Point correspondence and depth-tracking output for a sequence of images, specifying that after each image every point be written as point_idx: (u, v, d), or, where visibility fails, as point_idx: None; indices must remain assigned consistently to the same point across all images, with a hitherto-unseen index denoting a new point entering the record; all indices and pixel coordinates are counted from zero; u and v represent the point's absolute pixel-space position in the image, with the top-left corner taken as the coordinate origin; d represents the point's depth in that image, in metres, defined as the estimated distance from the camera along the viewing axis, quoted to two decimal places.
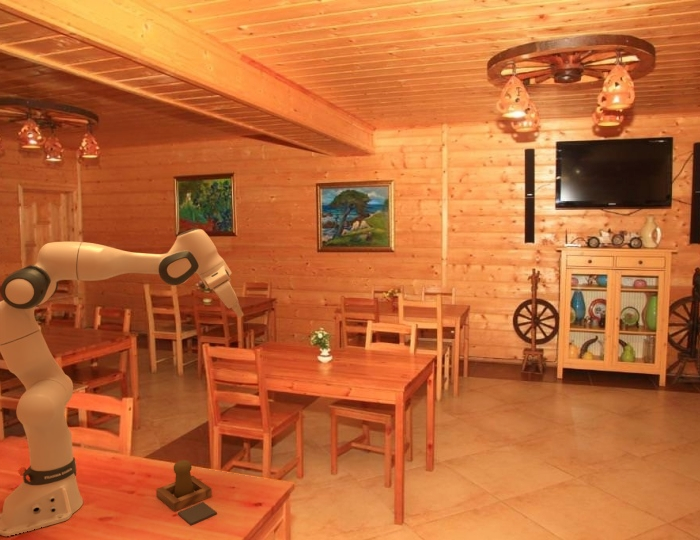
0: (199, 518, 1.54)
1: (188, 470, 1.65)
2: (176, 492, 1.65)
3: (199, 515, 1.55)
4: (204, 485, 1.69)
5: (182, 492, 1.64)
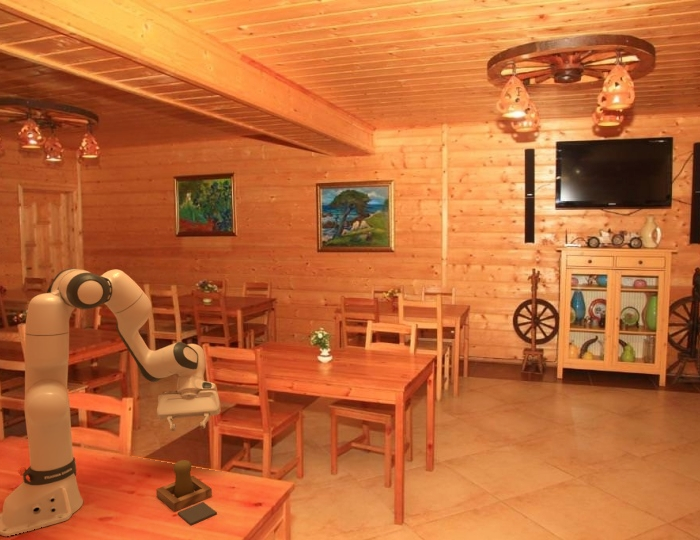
0: (199, 518, 1.54)
1: (188, 470, 1.65)
2: (176, 492, 1.65)
3: (199, 515, 1.55)
4: (204, 485, 1.69)
5: (182, 492, 1.64)
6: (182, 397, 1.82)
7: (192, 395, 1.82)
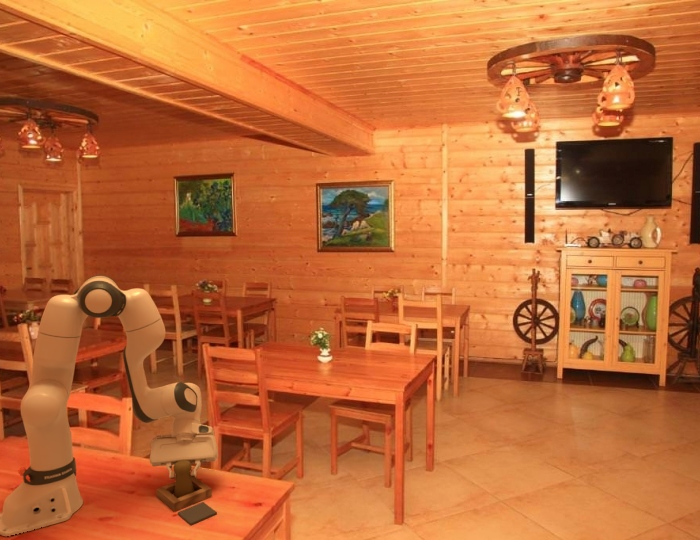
0: (199, 518, 1.54)
1: (188, 470, 1.65)
2: (176, 492, 1.65)
3: (199, 515, 1.55)
4: (204, 485, 1.69)
5: (182, 492, 1.64)
6: (177, 442, 1.71)
7: (188, 440, 1.71)
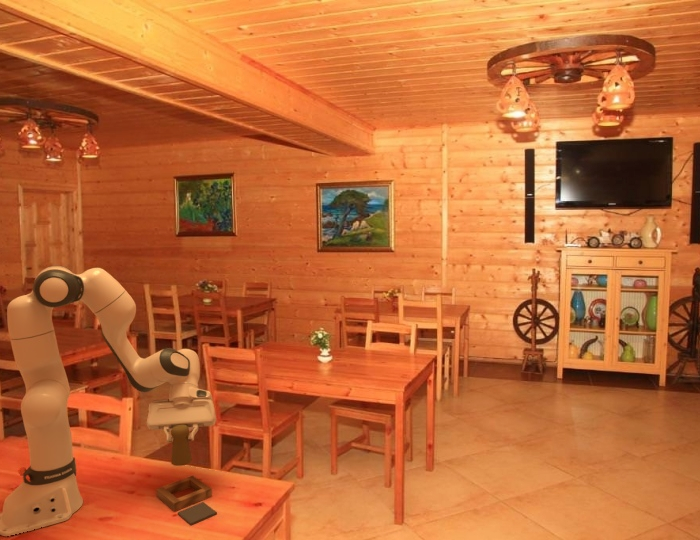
0: (199, 518, 1.54)
1: (186, 434, 1.64)
2: (173, 456, 1.64)
3: (199, 515, 1.55)
4: (204, 485, 1.69)
5: (179, 456, 1.63)
6: (174, 406, 1.69)
7: (185, 404, 1.69)
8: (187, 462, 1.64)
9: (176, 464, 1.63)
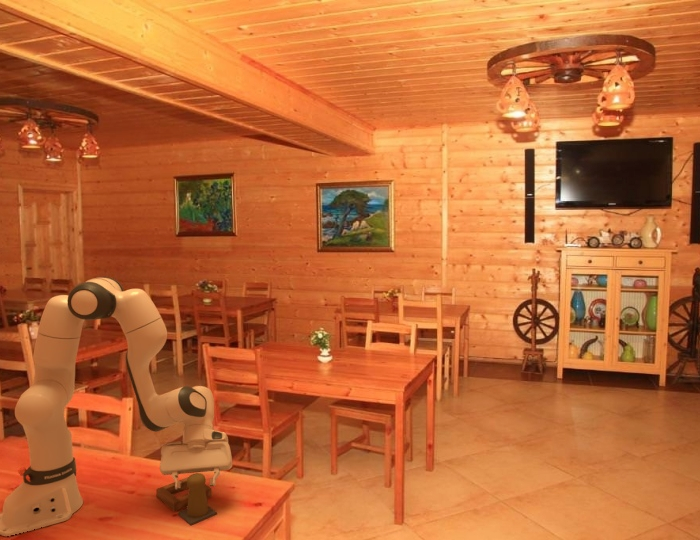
0: (199, 518, 1.54)
1: (202, 485, 1.54)
2: (189, 507, 1.55)
3: None
4: (204, 485, 1.69)
5: (196, 508, 1.54)
6: (189, 449, 1.60)
7: (200, 447, 1.60)
8: (204, 513, 1.55)
9: (192, 516, 1.54)
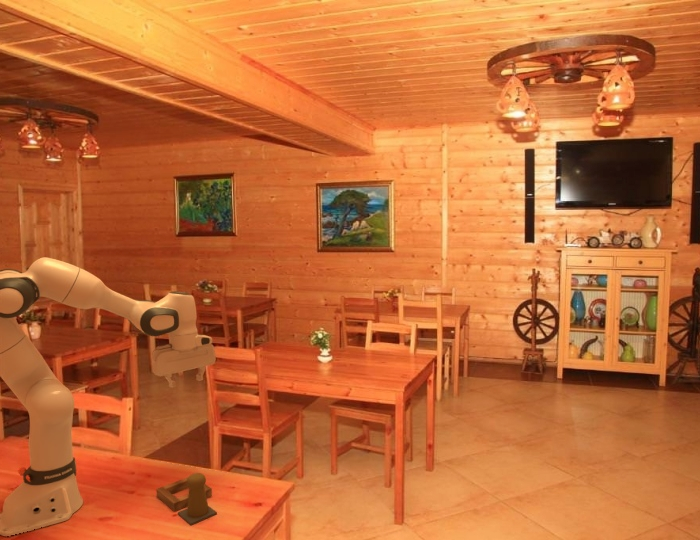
0: (199, 518, 1.54)
1: (202, 484, 1.55)
2: (189, 507, 1.55)
3: None
4: (204, 485, 1.69)
5: (196, 507, 1.54)
6: (180, 354, 1.73)
7: (191, 352, 1.75)
8: (204, 513, 1.55)
9: (192, 516, 1.54)
